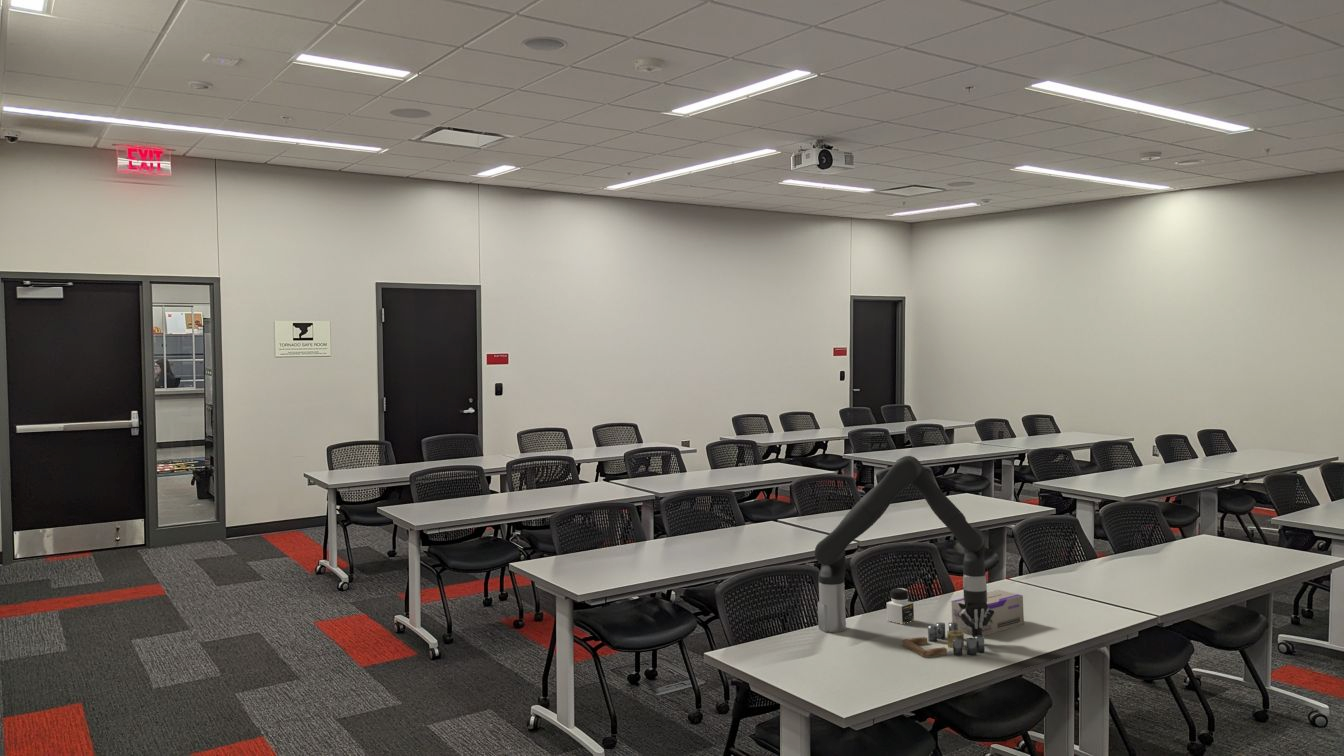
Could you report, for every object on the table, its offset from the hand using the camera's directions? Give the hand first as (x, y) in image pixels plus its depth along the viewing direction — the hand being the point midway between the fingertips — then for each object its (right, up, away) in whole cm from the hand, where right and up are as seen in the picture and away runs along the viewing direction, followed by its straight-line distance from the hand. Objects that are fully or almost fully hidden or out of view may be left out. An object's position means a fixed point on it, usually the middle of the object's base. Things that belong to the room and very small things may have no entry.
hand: (977, 638), depth 299 cm
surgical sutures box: (+10, -2, +18) cm, 21 cm away
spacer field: (-8, -2, -2) cm, 8 cm away
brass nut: (-8, -2, -2) cm, 8 cm away
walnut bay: (-19, -2, -4) cm, 19 cm away
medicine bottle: (-18, -3, +30) cm, 35 cm away
